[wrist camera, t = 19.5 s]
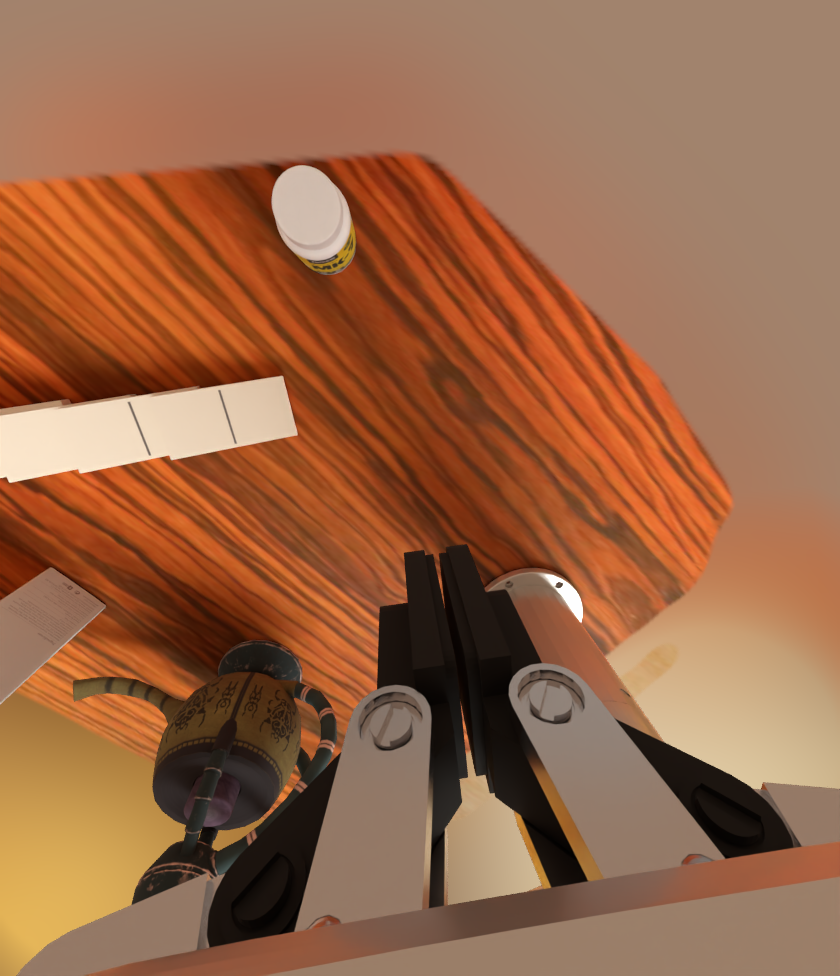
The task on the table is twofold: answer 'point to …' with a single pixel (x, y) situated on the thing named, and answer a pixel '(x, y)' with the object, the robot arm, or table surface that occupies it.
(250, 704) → the teapot
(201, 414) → the domino
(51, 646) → the small box
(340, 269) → the supplement bottle
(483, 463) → the table surface
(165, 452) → the domino
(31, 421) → the domino
